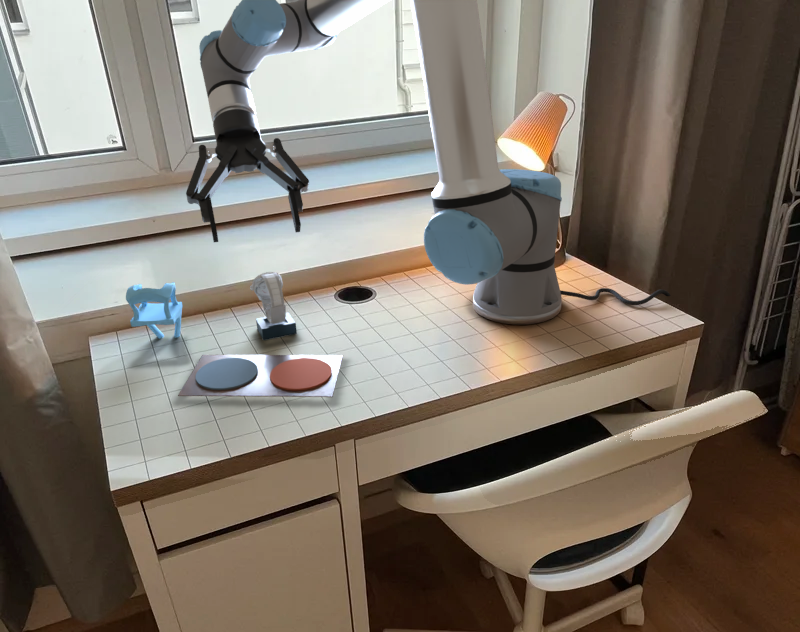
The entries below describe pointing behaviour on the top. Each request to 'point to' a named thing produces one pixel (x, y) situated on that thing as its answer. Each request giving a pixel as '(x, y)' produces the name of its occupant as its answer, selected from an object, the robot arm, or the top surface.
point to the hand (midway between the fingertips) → (257, 233)
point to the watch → (272, 307)
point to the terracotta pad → (300, 374)
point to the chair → (155, 307)
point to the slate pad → (226, 373)
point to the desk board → (264, 378)
